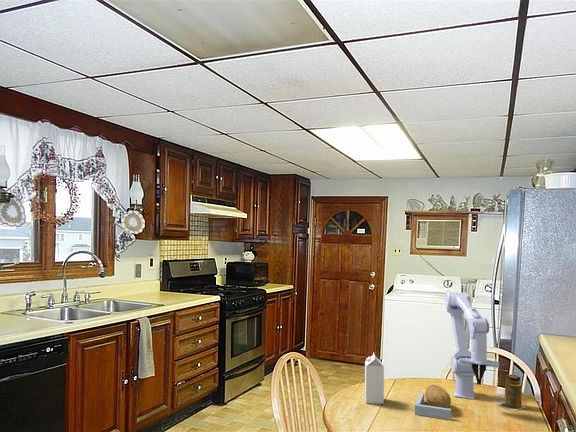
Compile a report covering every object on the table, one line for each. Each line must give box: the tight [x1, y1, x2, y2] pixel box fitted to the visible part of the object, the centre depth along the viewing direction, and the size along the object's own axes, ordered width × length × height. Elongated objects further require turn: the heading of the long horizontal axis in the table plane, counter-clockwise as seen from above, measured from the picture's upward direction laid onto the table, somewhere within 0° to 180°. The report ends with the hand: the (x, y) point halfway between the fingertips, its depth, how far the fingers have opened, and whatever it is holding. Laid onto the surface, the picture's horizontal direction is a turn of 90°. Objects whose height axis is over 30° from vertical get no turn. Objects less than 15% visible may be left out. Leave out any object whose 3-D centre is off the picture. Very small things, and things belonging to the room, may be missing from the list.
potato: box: [424, 384, 452, 409], centre depth 184 cm, size 10×14×8 cm
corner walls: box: [414, 391, 452, 421], centre depth 182 cm, size 16×13×4 cm
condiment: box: [497, 374, 526, 412], centre depth 187 cm, size 7×8×12 cm
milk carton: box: [364, 352, 385, 405], centre depth 192 cm, size 7×7×19 cm
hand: (479, 383), depth 184 cm, fingers closed
